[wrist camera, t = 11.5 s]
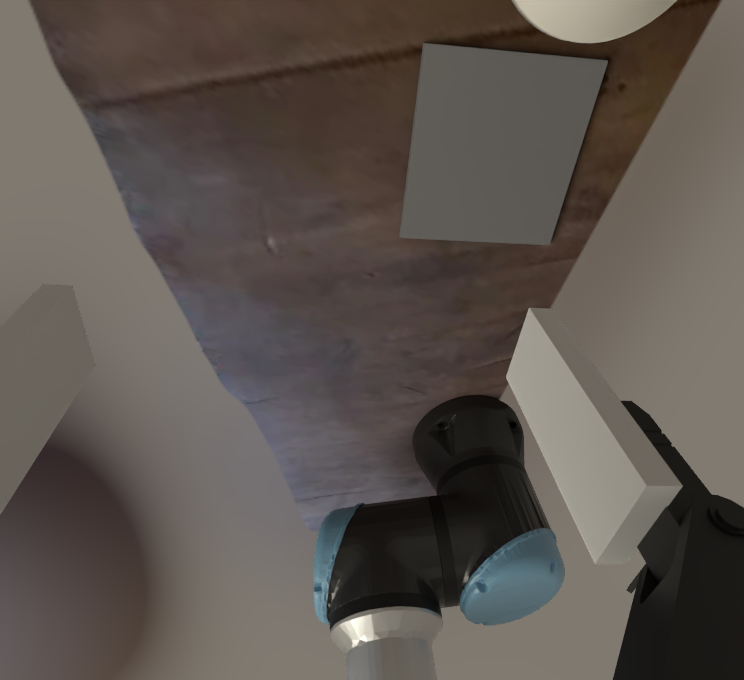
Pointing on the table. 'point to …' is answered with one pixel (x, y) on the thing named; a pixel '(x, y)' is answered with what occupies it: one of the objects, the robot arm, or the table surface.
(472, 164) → the mat
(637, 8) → the lid
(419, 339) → the table surface
